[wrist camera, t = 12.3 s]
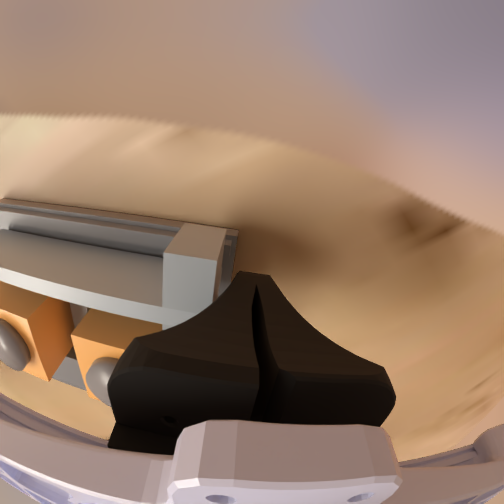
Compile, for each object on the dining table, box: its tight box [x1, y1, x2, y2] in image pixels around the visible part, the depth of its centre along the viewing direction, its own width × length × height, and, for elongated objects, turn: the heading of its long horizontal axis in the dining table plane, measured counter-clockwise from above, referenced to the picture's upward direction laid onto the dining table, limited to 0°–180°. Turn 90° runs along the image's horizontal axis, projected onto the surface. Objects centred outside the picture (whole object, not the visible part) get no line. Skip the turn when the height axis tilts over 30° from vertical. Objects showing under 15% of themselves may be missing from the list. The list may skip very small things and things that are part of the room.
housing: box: [0, 199, 239, 391], centre depth 14 cm, size 14×13×2 cm
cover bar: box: [0, 223, 227, 330], centre depth 11 cm, size 13×3×4 cm, turn 81°
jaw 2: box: [71, 308, 162, 407], centre depth 12 cm, size 4×4×5 cm
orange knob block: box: [0, 281, 75, 382], centre depth 12 cm, size 4×4×5 cm
